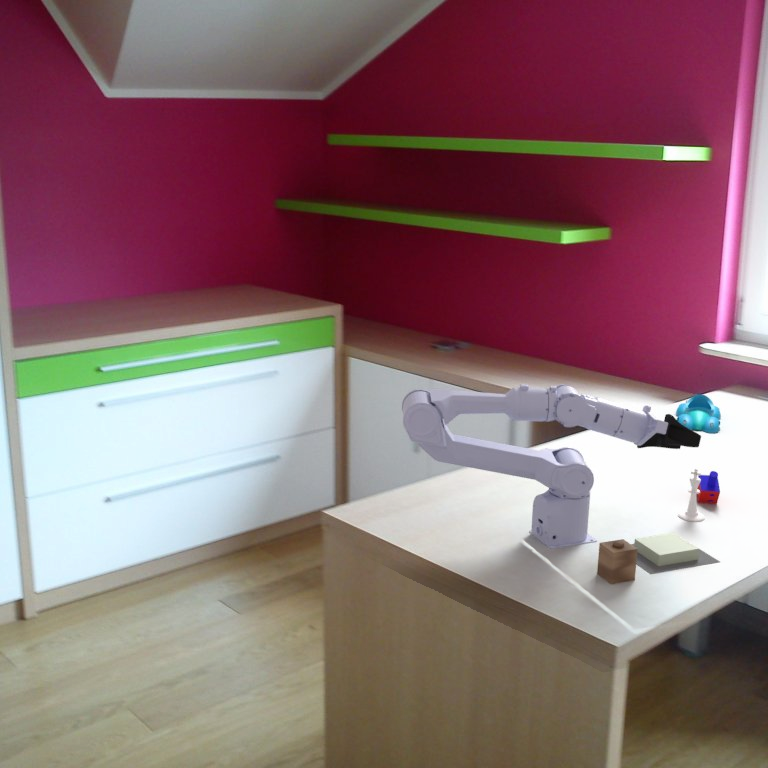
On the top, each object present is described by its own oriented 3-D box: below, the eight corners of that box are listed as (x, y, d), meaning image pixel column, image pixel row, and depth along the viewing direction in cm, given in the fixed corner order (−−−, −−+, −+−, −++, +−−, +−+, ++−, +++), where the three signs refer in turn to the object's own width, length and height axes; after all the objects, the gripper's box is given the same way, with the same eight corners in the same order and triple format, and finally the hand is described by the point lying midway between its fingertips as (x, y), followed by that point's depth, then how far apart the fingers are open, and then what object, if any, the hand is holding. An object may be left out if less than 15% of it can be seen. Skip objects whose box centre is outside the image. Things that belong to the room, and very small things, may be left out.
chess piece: (683, 512, 189) (688, 462, 186) (709, 518, 186) (714, 468, 183) (673, 519, 185) (678, 469, 183) (698, 526, 182) (704, 475, 180)
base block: (658, 566, 164) (659, 555, 164) (633, 549, 171) (634, 538, 170) (698, 559, 167) (699, 548, 167) (672, 543, 173) (673, 532, 173)
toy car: (719, 415, 253) (722, 390, 252) (721, 435, 237) (724, 409, 235) (676, 411, 256) (678, 386, 255) (674, 431, 240) (677, 404, 238)
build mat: (650, 576, 162) (650, 573, 161) (612, 549, 172) (612, 547, 171) (720, 564, 166) (720, 561, 166) (679, 539, 176) (679, 536, 176)
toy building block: (696, 508, 195) (703, 480, 190) (694, 492, 198) (701, 464, 193) (715, 509, 195) (722, 482, 189) (712, 493, 198) (719, 465, 192)
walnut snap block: (610, 587, 158) (613, 549, 156) (596, 576, 161) (599, 539, 160) (634, 583, 159) (637, 545, 158) (620, 572, 163) (623, 536, 161)
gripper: (637, 394, 164) (713, 417, 165) (607, 401, 178) (678, 422, 179) (627, 435, 163) (703, 458, 164) (598, 439, 177) (668, 460, 178)
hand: (689, 442), depth 172 cm, fingers open, 7 cm apart
